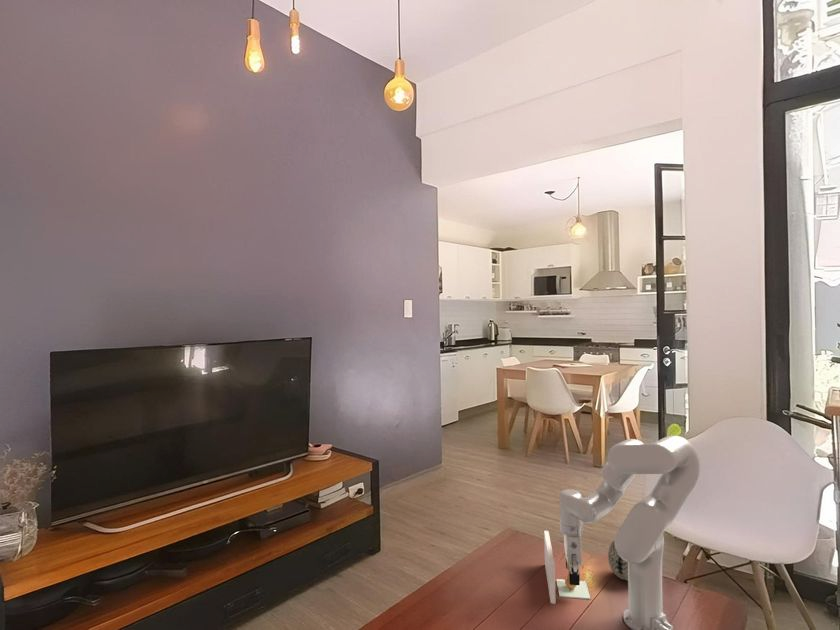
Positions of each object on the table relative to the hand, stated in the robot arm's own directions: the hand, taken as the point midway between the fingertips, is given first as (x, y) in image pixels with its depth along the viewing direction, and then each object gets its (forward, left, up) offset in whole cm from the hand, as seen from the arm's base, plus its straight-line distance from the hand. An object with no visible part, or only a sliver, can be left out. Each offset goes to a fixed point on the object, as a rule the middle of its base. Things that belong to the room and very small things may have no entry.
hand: (572, 576), depth 164 cm
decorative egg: (-4, -21, -5) cm, 22 cm away
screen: (+7, +4, -4) cm, 9 cm away
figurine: (+1, 0, -4) cm, 4 cm away
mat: (0, 0, -4) cm, 4 cm away
